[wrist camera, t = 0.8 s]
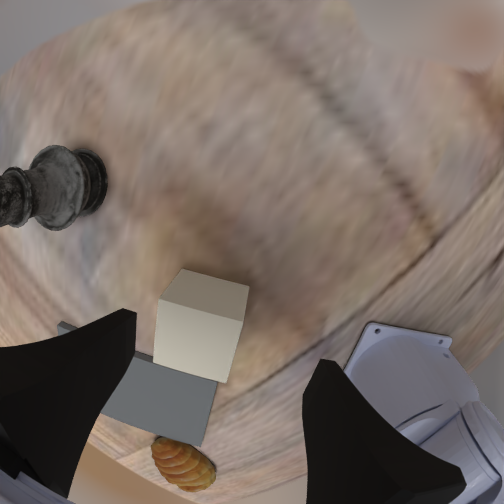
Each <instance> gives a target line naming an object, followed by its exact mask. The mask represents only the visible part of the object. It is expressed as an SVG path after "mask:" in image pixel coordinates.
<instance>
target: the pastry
mask: <svg viewBox="0 0 504 504" xmlns="http://www.w3.org/2000/svg"><path fill="white" fill-rule="evenodd" d="M151 450H152V458H153V459H154V460H155V465H156V467H158V470H159V471H160V473H161V475H162V476H163V477H165V478H166V480H167V481H168V482H169V483H172V484H176V485H177V486H178V487H179V488H180V489H182V490H184V491H187V492H198V491H200V490H204V489H206V488H208V487H209V486H210V485H211V484H213V482H214V481H215V479H216V474H215V469H214V466H213V465H212V464H211V462H210V461H209V460H208V459H207V458H206V457H205V456H203V455H202V454H201V453H200V452H199V451H197V450H196V449H195V448H193V447H192V446H191V445H189V444H187V443H183V442H180V441H176V440H173V439H170V438H166V437H161V438H158V439H157V440H156V441H155V442H154V443H153V444H152V445H151Z"/></svg>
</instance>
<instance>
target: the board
mask: <svg viewBox="0 0 504 504" xmlns="http://www.w3.org/2000/svg"><path fill="white" fill-rule="evenodd" d="M57 328H58V336H60V335H63V334H65V333H68V332H70V331H73V330H75V329H78V328H76V327H73V326H71V325H69V324H67V323H64V322H62V321H61V322H60V323H59V324H58V325H57ZM217 382H218V381H215V380H211V379H207V378H203V377H200V376H196V375H192V374H189V373H185V372H182V371H178V370H175V369H172V368H169V367H165V366H162V365H159V364H156V363H153V357H151V356H148V355H145V354H143V353H140V352H137V351H135V354H134V357H133V359H132V361H131V363H130V365H129V367H128V369H127V371H126V373H125V375H124V376H123V378H122V380H121V381H120V383H119V384H118V386H117V387H116V389H115V390H114V392H113V393H112V395H111V396H110V398H109V400H108V401H107V403H106V404H105V406H104V407H103V409H102V410H101V412H100V413H102V414H104V415H106V416H109V417H111V418H114V419H116V420H118V421H121V422H123V423H126V424H129V425H131V426H134V427H137V428H139V429H142V430H145V431H148V432H151V433H154V434H157V435H160V436H163V437H166V438H170V439H173V440H176V441H180V442H183V443H187V444H191V445H195V446H199V447H201V444H202V440H203V436H204V433H205V429H206V425H207V421H208V417H209V413H210V409H211V405H212V402H213V398H214V394H215V390H216V386H217Z"/></svg>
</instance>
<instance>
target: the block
mask: <svg viewBox="0 0 504 504" xmlns="http://www.w3.org/2000/svg"><path fill="white" fill-rule="evenodd" d="M248 292H249V286H247V285H243V284H239V283H235V282H231V281H227V280H223V279H219V278H216V277H212V276H208V275H204V274H200V273H197V272H193V271H189V270H186V269H181V270H180V272H179V273H178V274H177V276H176V277H175V278H174V279H173V281H172V282H171V283H170V285H169V286H168V287H167V289H166V290H165V291H164V293H163V294H162V295H161V296H160V298H159V301H158V310H157V320H156V330H155V342H154V354H153V363H156V364H159V365H162V366H165V367H169V368H172V369H175V370H178V371H182V372H185V373H189V374H192V375H196V376H200V377H203V378H207V379H211V380H215V381H219V382H223V383H226V382H227V379H228V375H229V372H230V368H231V365H232V361H233V358H234V354H235V351H236V347H237V343H238V340H239V336H240V333H241V329H242V326H243V322H244V316H245V310H246V304H247V298H248Z"/></svg>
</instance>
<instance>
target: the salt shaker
mask: <svg viewBox="0 0 504 504" xmlns="http://www.w3.org/2000/svg"><path fill="white" fill-rule="evenodd" d="M106 191H107V173H106V169H105V166H104V164H103V162H102V160H101V159H100V158H99V157H98V155H97V154H96V153H94V152H92V151H91V150H87V149H77V150H74V151H72V152H71V151H70V150H69V149H67V148H65V147H64V146H59V145H52V146H48V147H46V148H44V149H43V150H41V151H40V152H39V153H38V154H37V155H36V156H35V158H34V159H33V161H32V163H31V165H30V167H29V170H24V171H23V170H22V169H20V168H18V167H10V168H8V169H7V170H6V171H5V172H4V173H3V175H2V176H0V227H2V226H5V225H8V224H9V225H10V226H12V227H16V228H18V227H21V226H23V225H24V224H25V223H26V222H27V221H28V219H29V218H31V217H35V219H36V220H37V222H38V223H40V224H41V225H42V226H43V227H44V228H47V229H49V230H54V231H59V230H62V229H65V228H67V227H69V226H70V225H71V224H72V223H73V222H74V221H75V220H76V218H77V217H78V216H87V215H90V214H92V213H93V212H95V211H96V210H97V209H98V208H99V207H100V205H101V204H102V203H103V200H104V198H105V196H106Z"/></svg>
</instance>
